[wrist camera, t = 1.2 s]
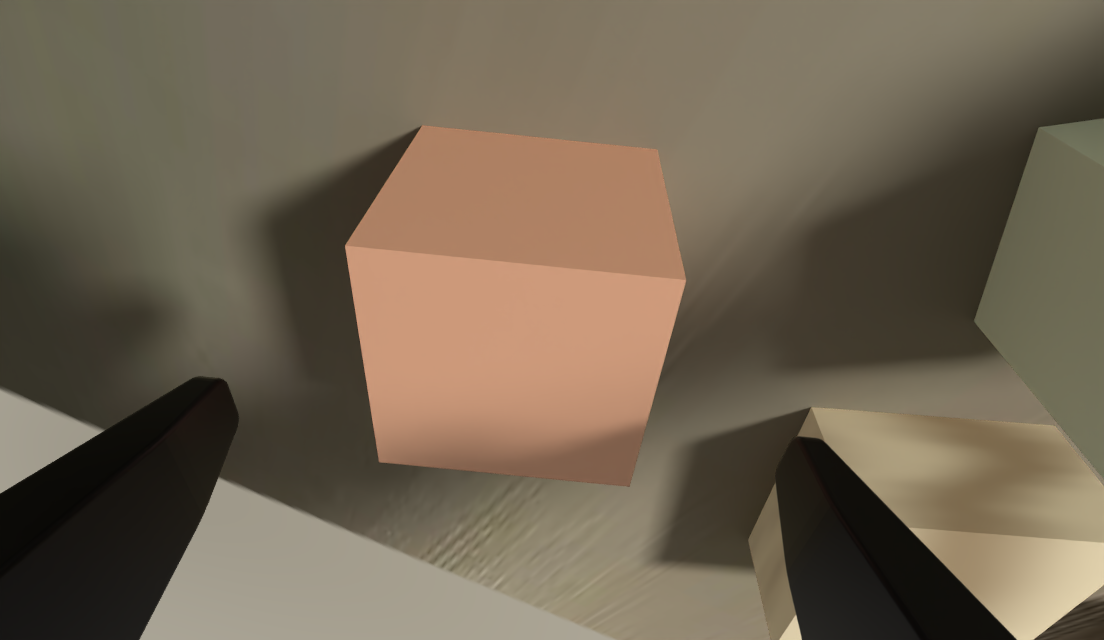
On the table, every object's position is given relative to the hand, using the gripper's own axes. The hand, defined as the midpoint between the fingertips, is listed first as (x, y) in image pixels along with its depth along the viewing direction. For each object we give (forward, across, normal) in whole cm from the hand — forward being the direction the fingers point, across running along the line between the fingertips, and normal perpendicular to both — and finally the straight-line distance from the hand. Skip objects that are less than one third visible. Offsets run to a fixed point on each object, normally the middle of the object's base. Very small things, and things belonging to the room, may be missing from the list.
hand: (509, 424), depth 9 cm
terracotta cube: (+6, 0, 0) cm, 6 cm away
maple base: (+6, -12, +8) cm, 16 cm away
